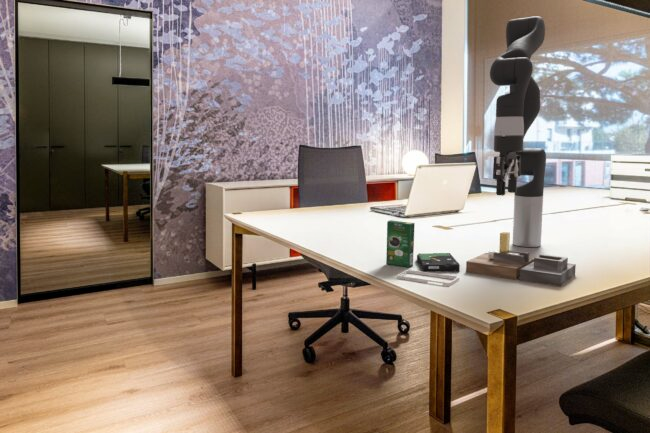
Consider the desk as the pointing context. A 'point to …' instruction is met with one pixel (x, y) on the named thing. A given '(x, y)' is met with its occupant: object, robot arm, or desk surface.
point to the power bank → (429, 275)
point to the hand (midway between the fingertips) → (506, 193)
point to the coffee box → (400, 243)
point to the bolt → (503, 245)
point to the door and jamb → (524, 267)
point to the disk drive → (438, 262)
